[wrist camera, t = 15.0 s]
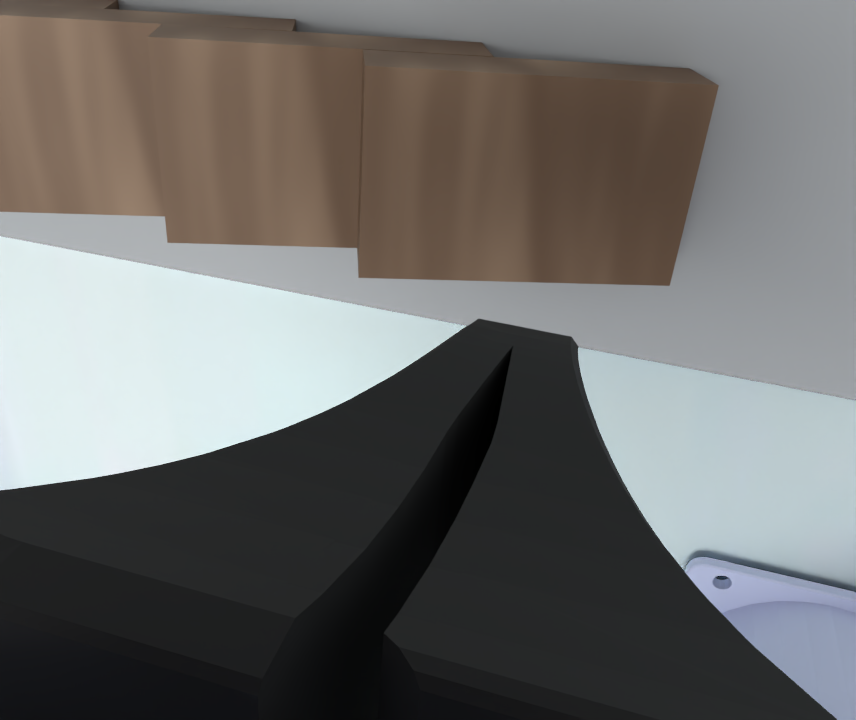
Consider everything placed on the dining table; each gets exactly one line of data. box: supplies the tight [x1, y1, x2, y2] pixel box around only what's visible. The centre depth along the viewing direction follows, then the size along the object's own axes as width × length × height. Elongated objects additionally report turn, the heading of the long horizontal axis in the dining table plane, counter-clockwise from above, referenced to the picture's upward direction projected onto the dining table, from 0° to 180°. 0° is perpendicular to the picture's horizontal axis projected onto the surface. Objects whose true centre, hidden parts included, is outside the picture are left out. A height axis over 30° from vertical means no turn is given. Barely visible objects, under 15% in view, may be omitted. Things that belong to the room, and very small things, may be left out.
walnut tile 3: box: [0, 3, 296, 217], centre depth 19 cm, size 2×4×7 cm
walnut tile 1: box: [357, 49, 719, 286], centre depth 18 cm, size 2×4×7 cm
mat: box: [0, 0, 856, 400], centre depth 20 cm, size 29×10×1 cm, turn 86°
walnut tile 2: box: [147, 24, 494, 248], centre depth 19 cm, size 2×4×7 cm
